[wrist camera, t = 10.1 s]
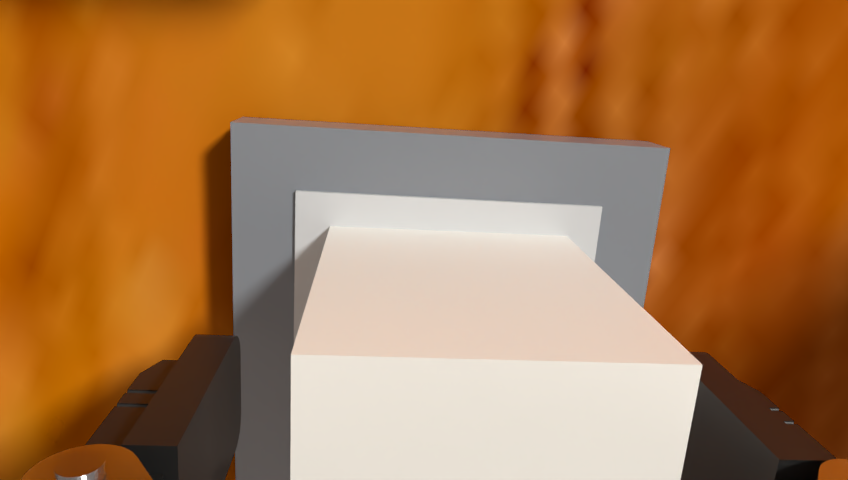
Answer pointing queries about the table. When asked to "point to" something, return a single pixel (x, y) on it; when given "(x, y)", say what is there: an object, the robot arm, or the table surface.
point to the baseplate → (407, 224)
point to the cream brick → (481, 364)
